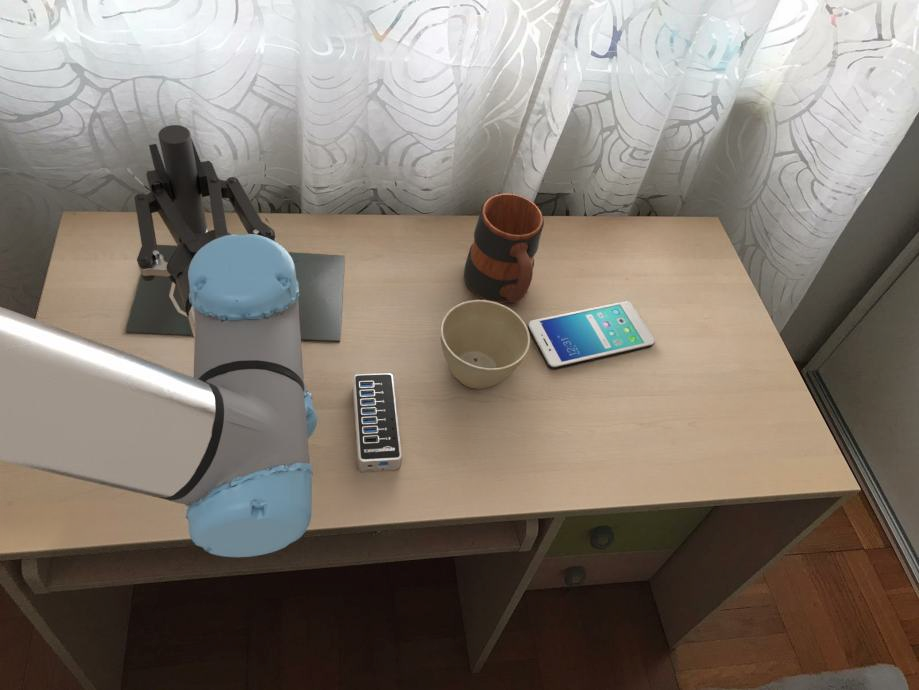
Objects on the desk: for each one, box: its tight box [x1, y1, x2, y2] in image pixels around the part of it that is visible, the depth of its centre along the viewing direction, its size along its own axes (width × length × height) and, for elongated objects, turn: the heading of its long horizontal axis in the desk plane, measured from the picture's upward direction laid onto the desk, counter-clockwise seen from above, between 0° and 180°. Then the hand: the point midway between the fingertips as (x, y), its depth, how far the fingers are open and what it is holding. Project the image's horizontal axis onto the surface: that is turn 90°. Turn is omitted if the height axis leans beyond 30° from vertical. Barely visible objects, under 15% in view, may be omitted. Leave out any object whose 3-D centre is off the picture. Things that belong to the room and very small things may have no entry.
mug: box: [463, 193, 545, 304], centre depth 92 cm, size 9×12×12 cm
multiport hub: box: [352, 372, 403, 473], centre depth 80 cm, size 4×11×2 cm, turn 8°
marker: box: [157, 124, 209, 234], centre depth 79 cm, size 3×3×14 cm
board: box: [124, 244, 346, 343], centre depth 90 cm, size 24×14×1 cm, turn 93°
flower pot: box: [440, 299, 531, 390], centre depth 85 cm, size 10×10×7 cm
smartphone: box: [527, 300, 656, 370], centre depth 93 cm, size 7×1×15 cm
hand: (172, 152), depth 81 cm, fingers closed on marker, 3 cm apart
